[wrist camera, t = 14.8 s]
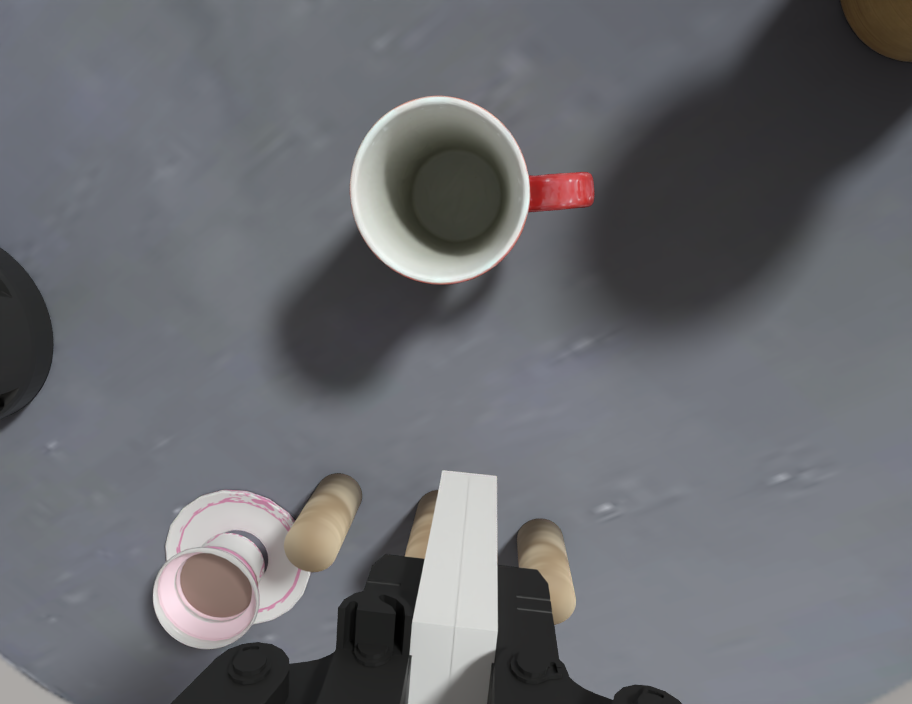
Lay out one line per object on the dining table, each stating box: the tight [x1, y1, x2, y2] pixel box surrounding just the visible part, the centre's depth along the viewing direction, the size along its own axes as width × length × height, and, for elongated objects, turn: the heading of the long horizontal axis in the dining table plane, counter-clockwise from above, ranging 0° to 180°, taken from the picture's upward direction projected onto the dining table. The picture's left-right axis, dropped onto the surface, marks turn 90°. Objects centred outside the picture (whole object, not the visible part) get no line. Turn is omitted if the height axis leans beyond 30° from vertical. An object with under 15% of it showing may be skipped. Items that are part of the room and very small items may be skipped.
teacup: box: [153, 490, 311, 649], centre depth 49 cm, size 12×12×6 cm
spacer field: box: [284, 473, 576, 625], centre depth 48 cm, size 20×27×8 cm
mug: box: [350, 96, 594, 285], centre depth 38 cm, size 13×9×14 cm
